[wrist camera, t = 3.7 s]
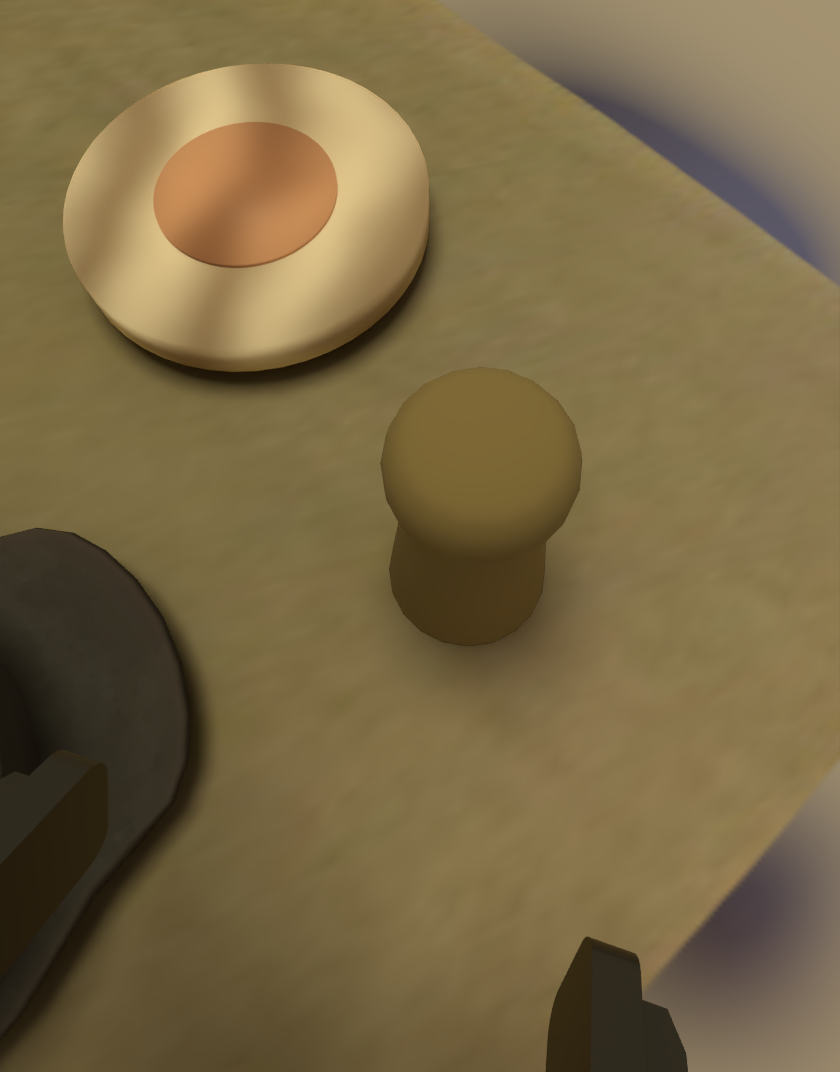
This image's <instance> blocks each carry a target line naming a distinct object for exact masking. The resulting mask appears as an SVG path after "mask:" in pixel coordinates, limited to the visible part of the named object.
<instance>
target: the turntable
mask: <svg viewBox="0 0 840 1072" xmlns="http://www.w3.org/2000/svg"><path fill="white" fill-rule="evenodd" d="M429 225H430V212H429V177H428V172H427V167H426V163H425V159H424V156H423V154H422V151H421V148H420V146H419V143H418V141H417V140H416V138H415V136H414V135H413V133H412V131H411V130H410V128H409V127H408V125H407V124H406V123H405V122H404V120H403V119H402V118H401V117H400V116H399V114H398V113H397V112H396V111H395V110H393V109H392V108H391V107H390V106H389V105H388V104H387V103H386V102H385V101H383V100H382V99H381V98H379V97H378V96H376V95H375V94H373V93H372V92H370V91H369V90H368V89H366V88H364V87H362V86H360V85H358V84H356V83H354V82H352V81H350V80H348V79H345V78H343V77H340V76H337V75H335V74H332V73H329V72H325V71H321V70H317V69H313V68H309V67H302V66H295V65H288V64H269V63H266V64H245V65H237V66H230V67H223V68H219V69H214V70H210V71H206V72H202V73H198V74H195V75H192V76H189V77H186V78H183V79H180V80H178V81H176V82H174V83H171V84H169V85H167V86H164V87H162V88H160V89H158V90H156V91H155V92H153V93H151V94H149V95H147V96H146V97H144V98H142V99H141V100H139V101H138V102H136V103H135V104H133V105H132V106H131V107H129V108H128V109H126V110H125V111H124V112H122V113H121V114H120V115H119V116H118V117H117V118H115V119H114V120H113V121H112V122H111V123H110V124H109V125H108V126H107V127H106V128H105V129H104V130H103V131H102V132H101V133H100V134H99V135H98V136H97V138H96V139H95V140H94V141H93V143H92V144H91V145H90V147H89V148H88V150H87V151H86V152H85V154H84V155H83V157H82V159H81V160H80V162H79V164H78V166H77V168H76V170H75V172H74V174H73V176H72V179H71V182H70V185H69V188H68V190H67V195H66V200H65V205H64V210H63V232H64V239H65V246H66V250H67V253H68V256H69V259H70V262H71V265H72V267H73V269H74V270H75V272H76V274H77V276H78V278H79V280H80V281H81V283H82V284H83V286H84V287H85V289H86V290H87V291H88V293H89V294H90V296H91V297H92V298H93V300H94V301H95V303H96V304H97V305H98V307H99V308H100V309H101V311H102V312H103V313H104V314H105V316H106V317H107V318H108V320H109V321H110V322H111V323H112V324H113V325H114V326H115V327H116V328H117V329H118V330H119V331H121V332H122V333H123V334H124V335H125V336H126V337H127V338H129V339H130V340H132V341H133V342H135V343H136V344H138V345H139V346H141V347H142V348H144V349H146V350H148V351H150V352H152V353H154V354H156V355H158V356H160V357H162V358H165V359H168V360H171V361H174V362H177V363H180V364H183V365H186V366H191V367H196V368H201V369H206V370H215V371H228V372H243V371H261V370H267V369H274V368H281V367H285V366H289V365H293V364H296V363H300V362H304V361H307V360H310V359H313V358H315V357H318V356H320V355H323V354H325V353H328V352H330V351H332V350H334V349H336V348H338V347H340V346H342V345H344V344H346V343H347V342H349V341H351V340H353V339H354V338H356V337H357V336H359V335H360V334H361V333H363V332H364V331H366V330H367V329H369V328H370V327H371V326H373V325H374V324H375V323H376V322H377V321H378V320H379V319H381V318H382V317H383V316H384V315H385V314H386V313H387V312H388V311H389V310H390V309H391V308H392V307H393V306H394V304H395V303H396V302H397V301H398V300H399V299H400V298H401V296H402V295H403V294H404V292H405V291H406V289H407V288H408V286H409V284H410V283H411V281H412V280H413V278H414V276H415V274H416V272H417V270H418V268H419V266H420V264H421V261H422V259H423V255H424V252H425V248H426V245H427V241H428V233H429Z"/></svg>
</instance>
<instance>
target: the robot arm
mask: <svg viewBox="0 0 840 1072" xmlns="http://www.w3.org/2000/svg"><path fill="white" fill-rule="evenodd" d="M107 830H108V771H107V767H106V765H105V764H103V763H100V762H98V761H95V760H92V759H89V758H86V757H83V756H81V755H78V754H75V753H72V752H69V751H66V750H58V751H56V752H54V753H53V754H52V755H50V756H49V757H48V758H47V759H46V760H45V761H44V762H43V763H42V764H41V765H40V766H39V767H38V768H37V769H35V770H34V771H33V772H32V773H31V774H30V775H29V776H27V775H25V774H22V773H19V772H16V771H15V772H13V773H11V774H9V775H7V776H5V777H3V778H2V779H0V979H1V978H2V977H3V975H4V974H5V973H6V972H7V970H8V969H9V968H10V967H11V965H12V964H13V963H14V962H15V960H16V959H17V958H18V956H19V955H20V954H21V953H22V951H23V950H24V949H25V948H26V946H27V945H28V944H29V943H30V941H31V940H32V939H33V938H34V936H35V935H36V934H37V933H38V931H39V930H40V929H41V927H42V926H43V925H44V924H45V922H46V921H47V920H48V919H49V917H50V916H51V915H52V914H53V912H54V911H55V910H56V909H57V907H58V906H59V905H60V904H61V902H62V901H63V900H64V898H65V897H66V896H67V895H68V893H69V892H70V891H71V890H72V888H73V887H74V886H75V885H76V883H77V882H78V881H79V880H80V878H81V877H82V876H83V875H84V873H85V872H86V871H87V869H88V868H89V867H90V866H91V864H92V863H93V861H94V860H95V858H96V857H97V855H98V853H99V851H100V849H101V847H102V845H103V843H104V840H105V837H106V834H107ZM546 1072H688V1067H687V1058H686V1052H685V1050H684V1047H683V1045H682V1043H681V1040H680V1038H679V1035H678V1033H677V1031H676V1028H675V1026H674V1024H673V1022H672V1019H671V1017H670V1014H669V1012H668V1009H666V1008H663V1007H660V1006H658V1005H655V1004H652V1003H649V1002H647V1001H644V1000H642V987H641V970H640V963H639V959H638V957H637V955H636V954H635V953H632V952H630V951H627V950H624V949H621V948H618V947H615V946H613V945H610V944H607V943H604V942H601V941H598V940H596V939H593V938H590V937H586V938H585V939H584V940H583V941H582V943H581V945H580V947H579V949H578V951H577V953H576V955H575V957H574V959H573V961H572V964H571V966H570V968H569V970H568V972H567V974H566V976H565V978H564V980H563V982H562V984H561V986H560V988H559V990H558V992H557V995H556V997H555V1001H554V1004H553V1008H552V1013H551V1018H550V1024H549V1031H548V1042H547V1059H546Z"/></svg>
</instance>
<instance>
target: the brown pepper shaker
mask: <svg viewBox="0 0 840 1072" xmlns="http://www.w3.org/2000/svg"><path fill="white" fill-rule="evenodd" d="M581 469H582V455H581V449H580V445H579V442H578V438H577V434H576V430H575V426H574V424H573V422H572V421H571V419H570V418H569V416H568V415H567V413H566V412H565V410H564V409H563V407H562V406H561V404H560V403H559V401H558V400H556V399H555V398H554V397H553V396H551V395H550V394H549V393H548V392H546V391H545V390H544V389H543V388H542V387H540V386H539V385H538V384H537V383H535V382H534V381H532V380H530V379H527V378H525V377H522V376H520V375H518V374H515V373H513V372H510V371H508V370H501V369H493V368H484V367H478V368H471V369H465V370H458V371H453V372H450V373H448V374H446V375H444V376H442V377H439V378H437V379H435V380H433V381H431V382H428V383H426V384H424V385H423V386H422V387H421V388H420V389H419V390H417V391H416V392H415V393H414V394H413V395H412V396H411V397H409V398H408V399H407V400H406V401H405V402H404V403H403V404H402V406H401V408H400V409H399V411H398V413H397V414H396V416H395V418H394V420H393V421H392V423H391V425H390V426H389V429H388V431H387V434H386V438H385V443H384V448H383V453H382V458H381V470H382V476H383V483H384V490H385V495H386V499H387V502H388V504H389V506H390V507H391V509H392V511H393V513H394V515H395V517H396V519H397V520H398V527H397V532H396V536H395V541H394V546H393V551H392V557H391V562H390V568H389V571H390V578H391V585H392V591H393V594H394V596H395V598H396V600H397V602H398V604H399V606H400V608H401V610H402V612H403V614H404V615H405V616H406V617H407V618H408V619H409V620H410V621H411V622H412V623H413V624H414V625H415V626H416V627H417V628H418V629H419V630H421V631H422V632H424V633H426V634H428V635H430V636H432V637H434V638H436V639H438V640H440V641H442V642H445V643H452V644H458V645H465V646H472V645H478V644H484V643H490V642H494V641H496V640H498V639H500V638H502V637H504V636H506V635H508V634H510V633H512V632H514V631H515V630H516V629H517V628H518V627H519V626H520V625H521V624H522V623H523V622H524V621H525V620H526V619H527V618H528V617H529V616H530V615H531V614H532V612H533V610H534V608H535V606H536V604H537V602H538V599H539V597H540V595H541V593H542V588H543V578H544V569H545V551H546V541H547V540H548V539H549V538H550V537H551V536H552V535H553V534H554V533H555V532H556V531H557V530H558V529H559V528H560V527H561V526H562V525H563V523H564V521H565V520H566V518H567V516H568V514H569V511H570V509H571V507H572V505H573V503H574V501H575V499H576V497H577V494H578V492H579V490H580V480H581Z"/></svg>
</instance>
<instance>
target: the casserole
mask: <svg viewBox="0 0 840 1072" xmlns="http://www.w3.org/2000/svg"><path fill="white" fill-rule="evenodd" d="M189 740H190V706H189V701H188V696H187V690H186V685H185V679H184V674H183V669H182V663H181V660H180V658H179V655H178V653H177V650H176V648H175V645H174V643H173V640H172V638H171V635H170V633H169V630H168V628H167V625H166V623H165V620H164V618H163V616H162V615H161V613H160V612H159V610H158V609H157V608H156V606H155V605H154V603H153V602H152V600H151V599H150V597H149V596H148V595H147V593H146V592H145V590H144V589H143V587H142V586H141V585H140V583H139V582H138V580H137V579H136V578H135V577H134V576H133V575H132V574H131V573H130V572H128V571H127V570H126V569H125V568H124V567H123V566H122V565H121V564H120V563H119V562H118V561H117V560H116V559H114V558H113V557H112V556H111V555H110V554H109V553H108V552H107V551H106V550H104V549H102V548H100V547H98V546H97V545H95V544H93V543H91V542H89V541H88V540H86V539H84V538H82V537H80V536H78V535H77V534H75V533H71V532H64V531H56V530H49V529H42V528H34V529H30V530H26V531H22V532H18V533H14V534H10V535H6V536H2V537H0V779H2V778H3V777H5V776H7V775H9V774H11V773H13V772H15V771H16V772H19V773H22V774H25V775H27V776H29V775H30V774H31V773H32V772H33V771H34V770H35V769H37V768H38V767H39V766H40V765H41V764H42V763H43V762H44V761H45V760H46V759H47V758H48V757H49V756H50V755H52V754H53V753H54V752H56V751H58V750H66V751H69V752H72V753H75V754H78V755H81V756H83V757H86V758H89V759H92V760H95V761H98V762H100V763H103V764H105V765H106V767H107V771H108V830H107V834H106V837H105V840H104V843H103V845H102V847H101V849H100V851H99V853H98V855H97V857H96V858H95V860H94V861H93V863H92V864H91V866H90V867H89V868H88V869H87V871H86V872H85V873H84V875H83V876H82V877H81V878H80V880H79V881H78V882H77V883H76V885H75V886H74V887H73V888H72V890H71V891H70V892H69V893H68V895H67V896H66V897H65V898H64V900H63V901H62V902H61V904H60V905H59V906H58V907H57V909H56V910H55V911H54V912H53V914H52V915H51V916H50V917H49V919H48V920H47V921H46V922H45V924H44V925H43V926H42V927H41V929H40V930H39V931H38V933H37V934H36V935H35V936H34V938H33V939H32V940H31V941H30V943H29V944H28V945H27V946H26V948H25V949H24V950H23V951H22V953H21V954H20V955H19V956H18V958H17V959H16V960H15V962H14V963H13V964H12V965H11V967H10V968H9V969H8V970H7V972H6V973H5V974H4V975H3V977H2V978H1V979H0V1039H1V1038H2V1037H3V1036H4V1035H5V1034H6V1032H7V1031H8V1030H9V1029H10V1028H11V1027H12V1026H13V1024H14V1023H15V1022H16V1021H17V1020H18V1019H19V1017H20V1016H21V1015H22V1013H23V1012H24V1010H25V1009H26V1007H27V1005H28V1004H29V1002H30V1000H31V999H32V997H33V996H34V994H35V992H36V991H37V989H38V987H39V986H40V984H41V983H42V981H43V979H44V978H45V976H46V975H47V973H48V971H49V970H50V968H51V966H52V965H53V963H54V962H55V960H56V958H57V957H58V955H59V953H60V952H61V950H62V948H63V947H64V945H65V944H66V942H67V940H68V939H69V937H70V935H71V934H72V932H73V930H74V929H75V927H76V925H77V924H78V922H79V921H80V919H81V917H82V916H83V914H84V912H85V911H86V909H87V907H88V906H89V904H90V902H91V901H92V899H93V898H94V896H95V895H96V894H97V892H98V891H99V890H100V889H101V888H102V887H103V885H104V884H105V883H106V882H107V881H108V879H109V878H110V877H111V876H112V875H113V874H114V872H115V871H116V870H117V869H118V868H119V866H120V865H121V864H122V863H123V862H124V860H125V859H126V858H127V857H128V856H129V855H130V853H131V852H132V851H133V850H134V849H135V847H136V846H137V845H138V844H139V843H140V842H141V840H142V839H143V838H144V837H145V836H146V834H147V833H148V832H149V831H150V830H151V828H152V827H153V826H154V825H155V824H156V823H157V821H158V820H159V819H160V818H161V817H162V815H163V814H164V813H165V812H166V811H167V810H168V808H169V807H170V806H171V805H172V804H173V801H174V799H175V796H176V793H177V790H178V787H179V784H180V782H181V779H182V776H183V773H184V770H185V768H186V765H187V762H188V759H189Z"/></svg>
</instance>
